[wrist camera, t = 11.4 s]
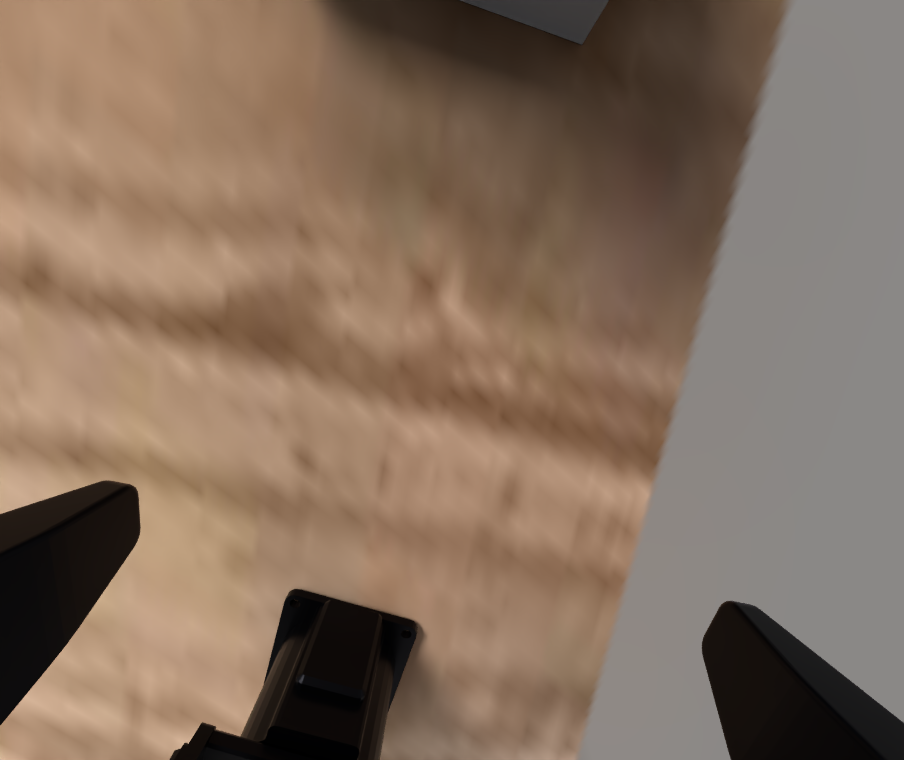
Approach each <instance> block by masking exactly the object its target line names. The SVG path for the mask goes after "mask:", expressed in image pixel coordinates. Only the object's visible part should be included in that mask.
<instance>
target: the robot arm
mask: <svg viewBox="0 0 904 760" xmlns="http://www.w3.org/2000/svg"><path fill="white" fill-rule="evenodd" d="M139 535H140V513H139V497H138V491H137V489H136V488H135V487H134V486H132V485H130V484H125V483H120V482H115V481H101V482H98V483H95V484H91V485H88V486H85V487H82V488H79V489H76V490H73V491H70V492H67V493H64V494H61V495H58V496H55V497H52V498H49V499H45V500H42V501H39V502H36V503H33V504H30V505H27V506H24V507H21V508H18V509H15V510H12V511H9V512H6V513H3V514H0V725H1V724H2V723H3V722H4V720H5V719H6V718H7V717H8V716H9V714H10V713H11V712H12V711H13V710H14V708H15V707H16V706H17V705H18V703H19V702H20V701H21V700H22V699H23V697H24V696H25V695H26V694H27V693H28V691H29V690H30V689H31V688H32V686H33V685H34V684H35V683H36V682H37V680H38V679H39V678H40V677H41V676H42V674H43V673H44V672H45V671H46V670H47V668H48V667H49V666H50V665H51V663H52V662H53V661H54V660H55V658H56V657H57V656H58V655H59V653H60V652H61V651H62V650H63V648H64V647H65V646H66V644H67V643H68V642H69V640H70V639H71V638H72V636H73V635H74V633H75V632H76V631H77V629H78V628H79V627H80V625H81V624H82V622H83V621H84V619H85V618H86V616H87V615H88V613H89V612H90V611H91V609H92V608H93V606H94V605H95V603H96V602H97V600H98V599H99V597H100V596H101V595H102V593H103V592H104V590H105V589H106V587H107V586H108V584H109V583H110V581H111V580H112V579H113V577H114V576H115V574H116V573H117V571H118V570H119V568H120V567H121V566H122V564H123V563H124V561H125V560H126V558H127V557H128V555H129V554H130V552H131V551H132V550H133V548H134V546H135V545H136V543H137V541H138V538H139ZM295 600H298V601H299V602H297V601H295ZM404 630H408V631H409V632H408V631H404ZM416 634H417V625H416V623H415V622H414V621H412V620H409V619H405V618H402V617H398V616H394V615H391V614H387V613H384V612H380V611H376V610H373V609H369V608H365V607H362V606H358V605H355V604H351V603H347V602H344V601H340V600H336V599H333V598H329V597H326V596H322V595H318V594H315V593H311V592H307V591H304V590H300V589H294V590H291V591H290V592H289V594H288V595H287V597H286V599H285V602H284V606H283V610H282V614H281V618H280V622H279V626H278V630H277V634H276V638H275V642H274V646H273V650H272V654H271V658H270V661H269V665H268V669H267V673H266V677H265V681H264V686H263V688H262V690H261V692H260V694H259V697H258V699H257V701H256V703H255V706H254V708H253V710H252V712H251V714H250V717H249V719H248V721H247V723H246V726H245V728H244V730H243V732H242V734H241V737H240V736H236V735H233V734H230V733H226V732H223V731H219V730H216V726H213V725H210V724H206V723H203V722H202V723H201V725H200V726H199V728H198V730H197V731H196V733H195V734H194V736H193V738H192V739H191V741H190V742H189V744H188V743H184V745H183V746H182V748H181V749H178V750H175V751H174V753H173V755H172V756H171V758H170V760H380V755H381V749H382V743H383V737H384V731H385V725H386V719H387V713H388V711H389V708H390V705H391V703H392V700H393V697H394V695H395V692H396V689H397V687H398V684H399V681H400V679H401V676H402V673H403V671H404V668H405V665H406V663H407V660H408V657H409V655H410V652H411V649H412V647H413V644H414V641H415V639H416ZM702 654H703V658H704V662H705V666H706V670H707V673H708V677H709V681H710V684H711V688H712V692H713V696H714V699H715V703H716V707H717V711H718V714H719V718H720V722H721V725H722V729H723V733H724V737H725V740H726V744H727V748H728V751H729V755H730V758H731V760H904V723H903V722H902V721H901V720H899V719H898V718H897V717H896V716H894V715H893V714H892V713H890V712H889V711H888V710H887V709H885V708H884V707H883V706H882V705H880V704H879V703H878V702H877V701H875V700H874V699H872V697H870V696H869V695H868V694H866V693H865V692H864V691H863V690H861V689H860V688H859V687H858V686H856V685H855V684H854V683H852V682H851V681H850V680H849V679H847V678H846V677H845V676H844V675H842V674H841V673H840V672H838V671H837V670H836V669H835V668H833V667H832V666H831V665H830V664H828V663H827V662H826V661H825V660H823V659H822V658H821V657H819V656H818V655H817V654H816V653H814V652H813V651H812V650H811V649H809V648H808V647H807V646H806V645H804V644H803V643H802V642H801V641H799V640H798V639H796V638H795V637H794V636H793V635H792V634H790V633H789V632H788V631H787V630H785V629H784V628H783V627H782V626H780V625H779V624H778V623H777V622H775V621H774V620H773V619H771V618H770V617H769V616H768V615H766V614H765V613H764V612H763V611H761V610H760V609H758V608H757V607H755V606H753V605H750V604H745V603H740V602H734V601H726V602H724V603H723V604H721V606H720V607H719V609H718V611H717V613H716V615H715V617H714V618H713V620H712V622H711V624H710V626H709V628H708V630H707V631H706V633H705V635H704V637H703V641H702Z"/></svg>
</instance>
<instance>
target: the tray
mask: <svg viewBox="0 0 904 760" xmlns="http://www.w3.org/2000/svg"><path fill="white" fill-rule="evenodd" d="M460 1H463V2H466V3H469V4H471V5H474V6H477V7H480V8H482V9H485V10H488V11H491V12H493V13H496V14H499V15H502V16H504V17H507V18H510V19H513V20H515V21H518V22H521V23H524V24H526V25H529V26H532V27H535V28H537V29H540V30H543V31H546V32H548V33H551V34H554V35H556V36H559V37H562V38H565V39H567V40H570V41H573V42H576V43H578V44H581V45H582V44H583V42H584V41H585V39H586V37H587V36H588V34H589V32H590V31H591V29H592V27H593V26H594V24H595V23H596V21H597V19H598V18H599V16H600V14H601V13H602V11H603V9H604V8H605V6H606V4H607V3H608V1H609V0H460Z"/></svg>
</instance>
